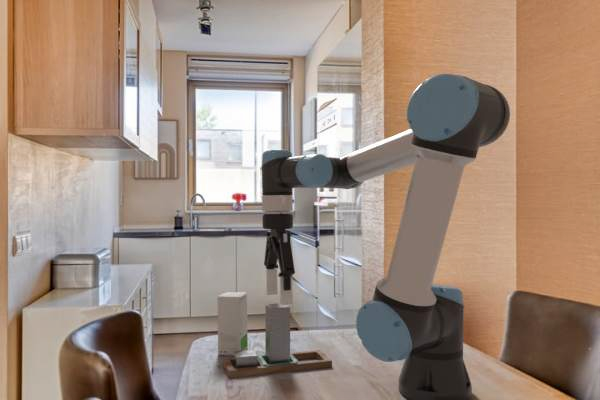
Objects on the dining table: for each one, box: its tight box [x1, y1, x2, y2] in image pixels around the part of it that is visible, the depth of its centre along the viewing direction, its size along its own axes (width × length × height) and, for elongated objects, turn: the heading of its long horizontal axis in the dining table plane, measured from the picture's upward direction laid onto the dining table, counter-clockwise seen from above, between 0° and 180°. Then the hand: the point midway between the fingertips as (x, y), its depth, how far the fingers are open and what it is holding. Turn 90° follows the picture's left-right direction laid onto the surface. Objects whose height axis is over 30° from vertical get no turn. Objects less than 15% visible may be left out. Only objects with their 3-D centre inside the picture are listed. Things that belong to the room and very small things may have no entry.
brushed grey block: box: [264, 302, 291, 364], centre depth 124 cm, size 5×5×15 cm
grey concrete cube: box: [233, 349, 258, 369], centre depth 121 cm, size 5×5×4 cm
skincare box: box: [217, 291, 249, 357], centre depth 135 cm, size 8×7×16 cm
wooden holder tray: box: [222, 349, 333, 379], centre depth 124 cm, size 9×25×2 cm, turn 107°
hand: (278, 299), depth 123 cm, fingers open, 13 cm apart
